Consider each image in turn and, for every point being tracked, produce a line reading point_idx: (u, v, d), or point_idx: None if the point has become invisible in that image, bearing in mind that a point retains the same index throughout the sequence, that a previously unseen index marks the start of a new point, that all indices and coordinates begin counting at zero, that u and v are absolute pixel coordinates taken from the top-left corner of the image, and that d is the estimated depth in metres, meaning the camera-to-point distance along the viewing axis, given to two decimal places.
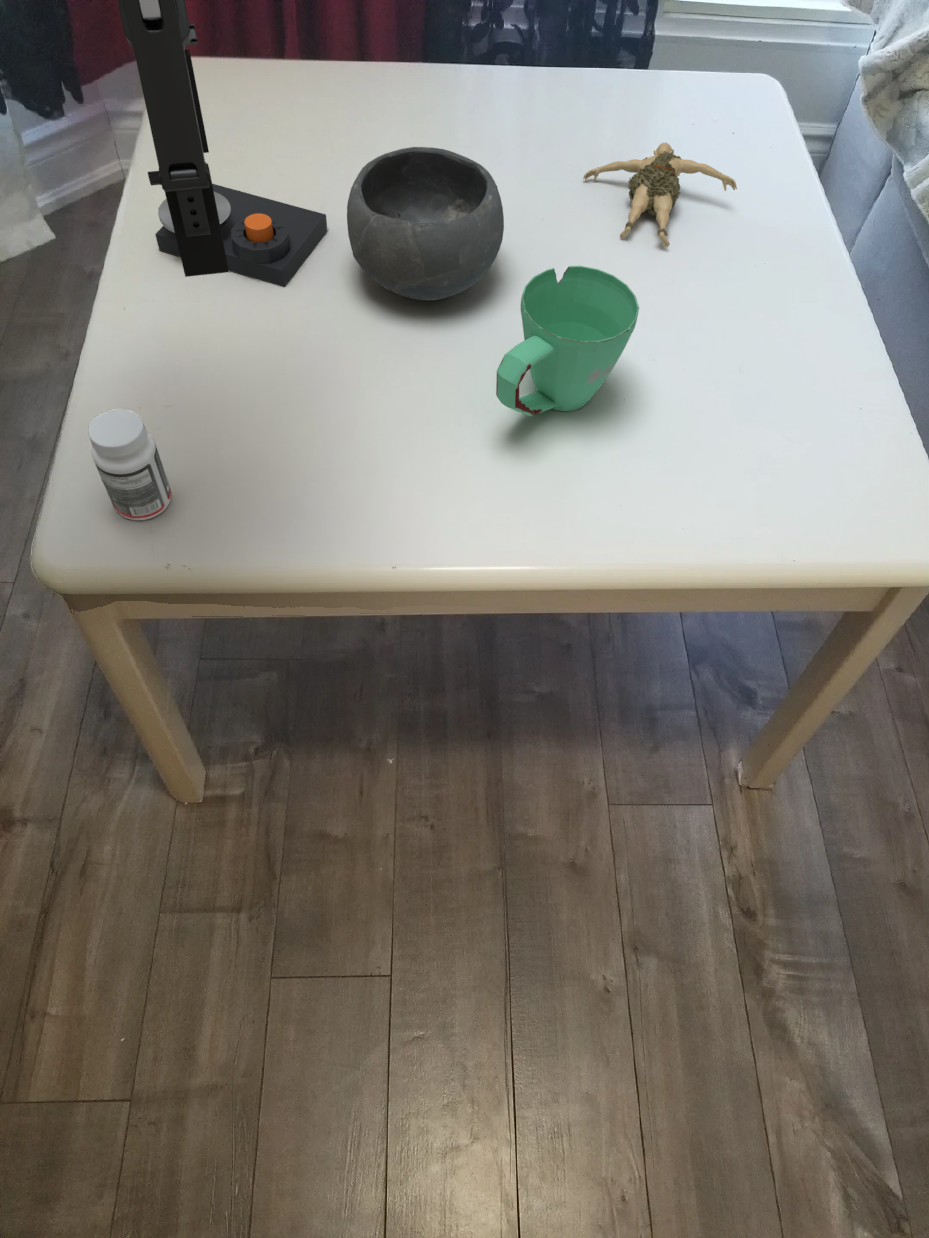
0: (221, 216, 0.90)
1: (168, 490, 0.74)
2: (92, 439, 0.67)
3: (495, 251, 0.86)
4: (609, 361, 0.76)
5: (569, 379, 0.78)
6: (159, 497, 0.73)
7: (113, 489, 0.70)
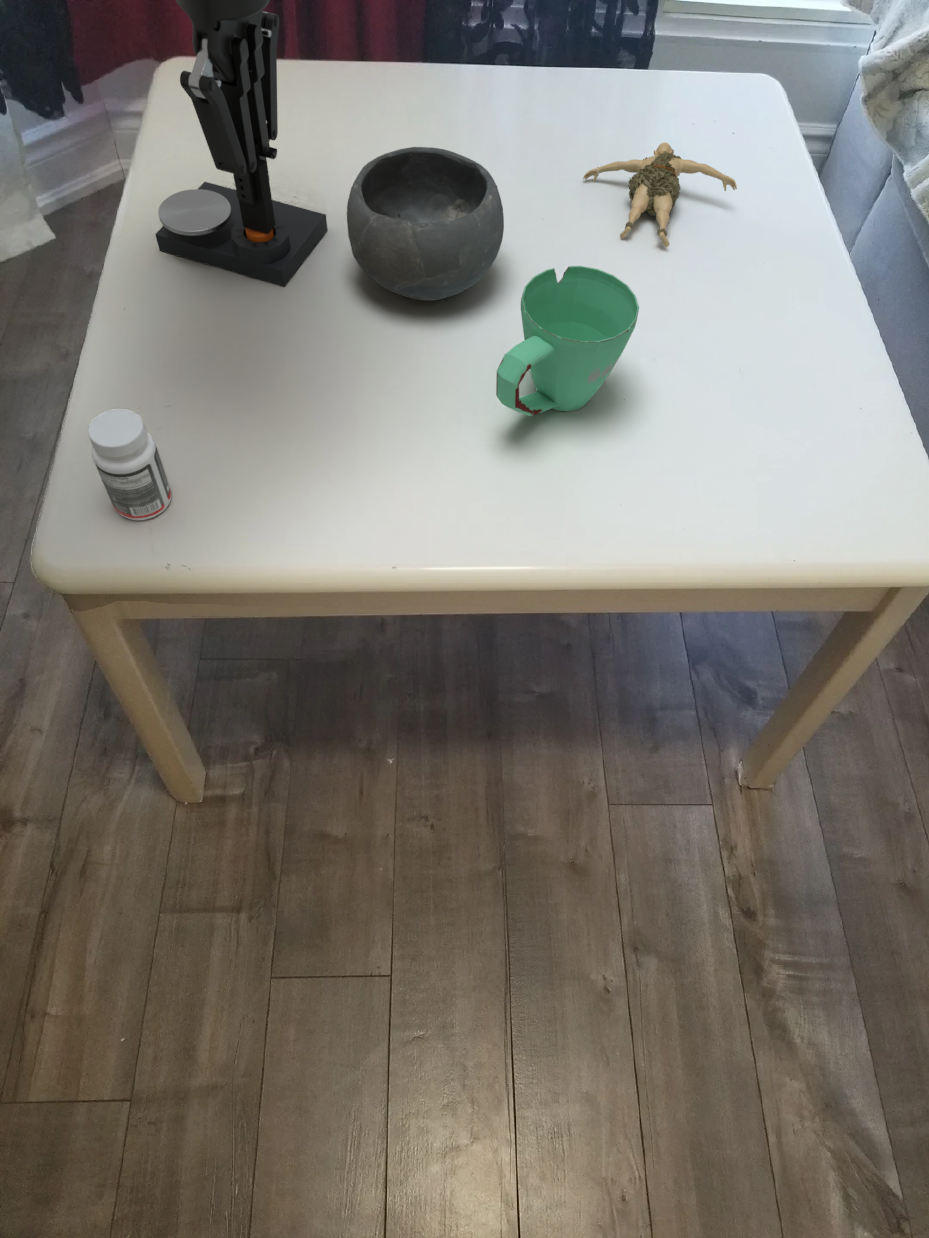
0: (221, 216, 0.90)
1: (168, 490, 0.74)
2: (92, 439, 0.67)
3: (495, 251, 0.86)
4: (609, 361, 0.76)
5: (569, 379, 0.78)
6: (159, 497, 0.73)
7: (113, 489, 0.70)
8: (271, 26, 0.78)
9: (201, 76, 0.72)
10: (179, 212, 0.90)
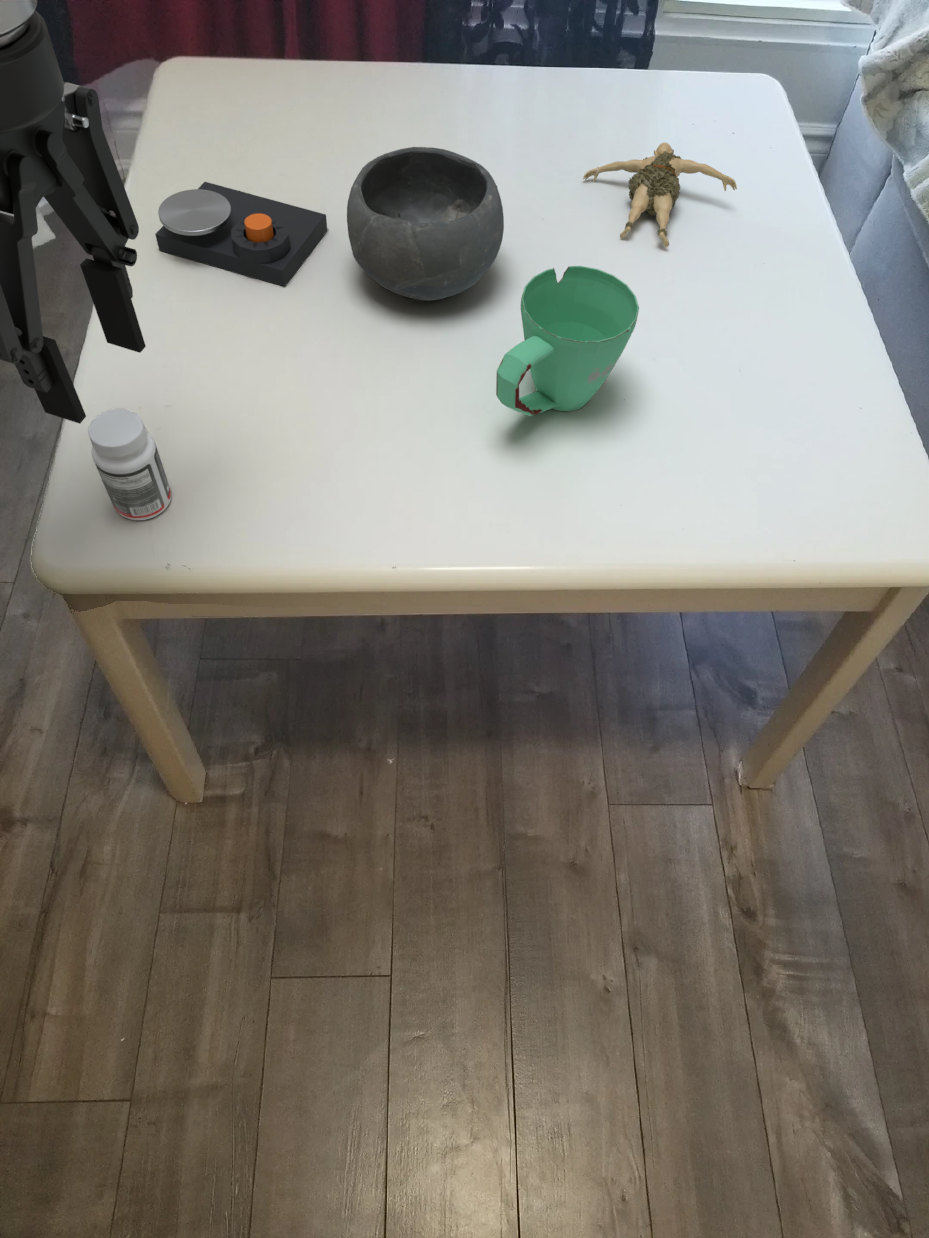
0: (221, 216, 0.90)
1: (168, 490, 0.74)
2: (92, 439, 0.67)
3: (495, 251, 0.86)
4: (609, 361, 0.76)
5: (569, 379, 0.78)
6: (159, 497, 0.73)
7: (113, 489, 0.70)
8: (86, 110, 0.53)
9: None
10: (179, 212, 0.90)
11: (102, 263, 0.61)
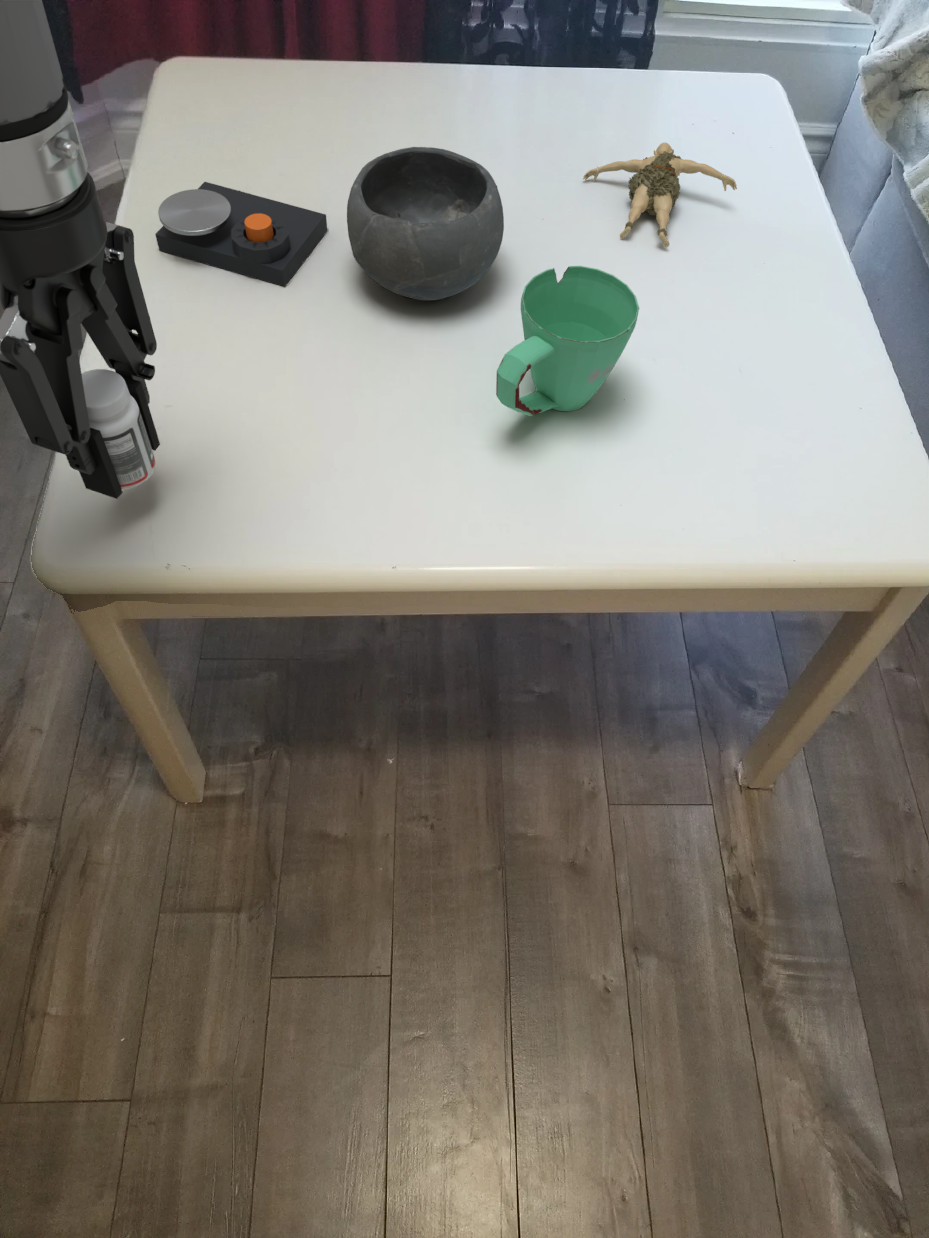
0: (221, 216, 0.90)
1: (152, 458, 0.70)
2: None
3: (495, 251, 0.86)
4: (609, 361, 0.76)
5: (569, 379, 0.78)
6: (143, 465, 0.69)
7: None
8: (122, 246, 0.60)
9: (5, 337, 0.54)
10: (179, 212, 0.90)
11: (123, 376, 0.67)
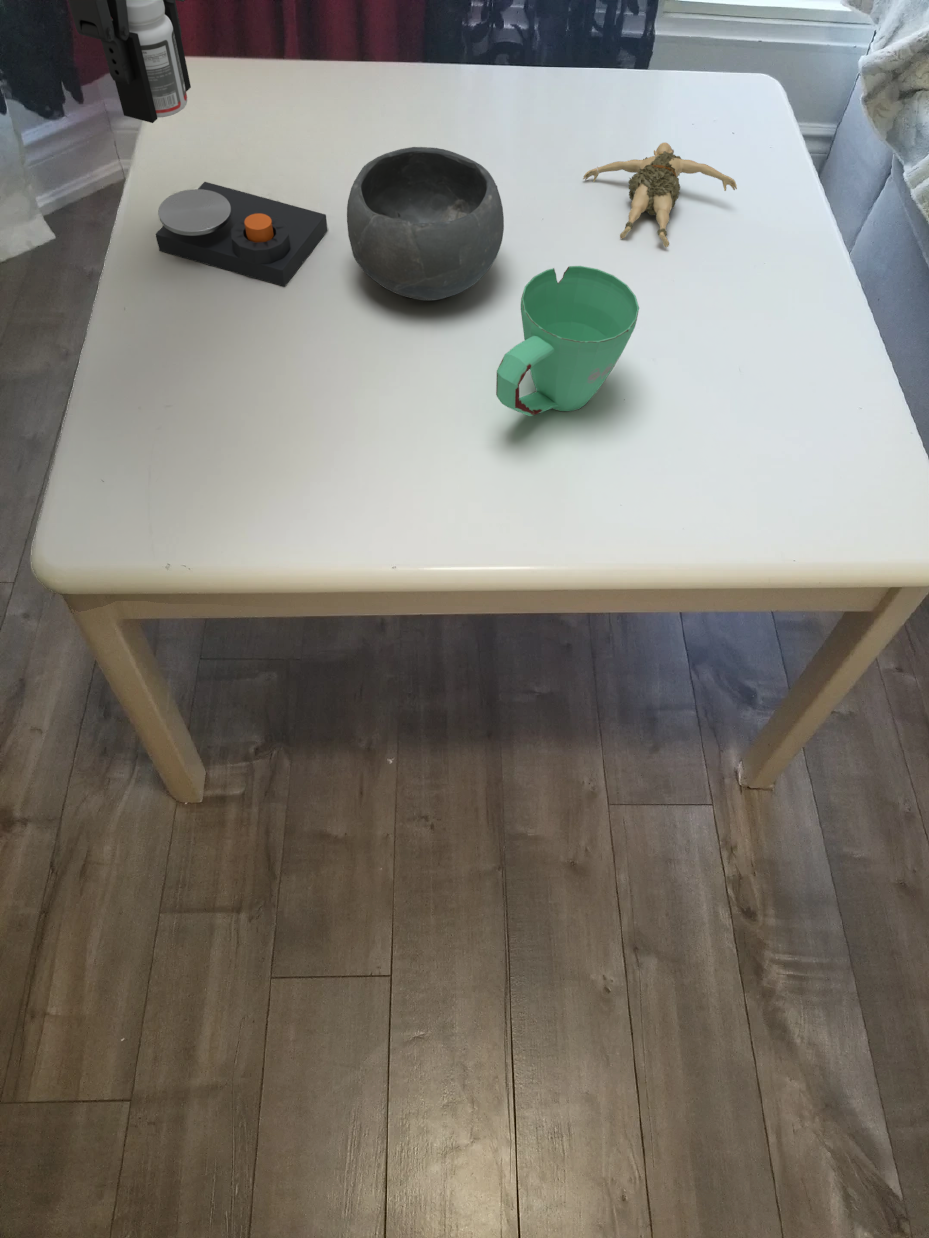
0: (221, 216, 0.90)
1: (184, 90, 0.76)
2: None
3: (495, 251, 0.86)
4: (609, 361, 0.76)
5: (569, 379, 0.78)
6: (176, 91, 0.75)
7: None
8: None
9: None
10: (179, 212, 0.90)
11: None
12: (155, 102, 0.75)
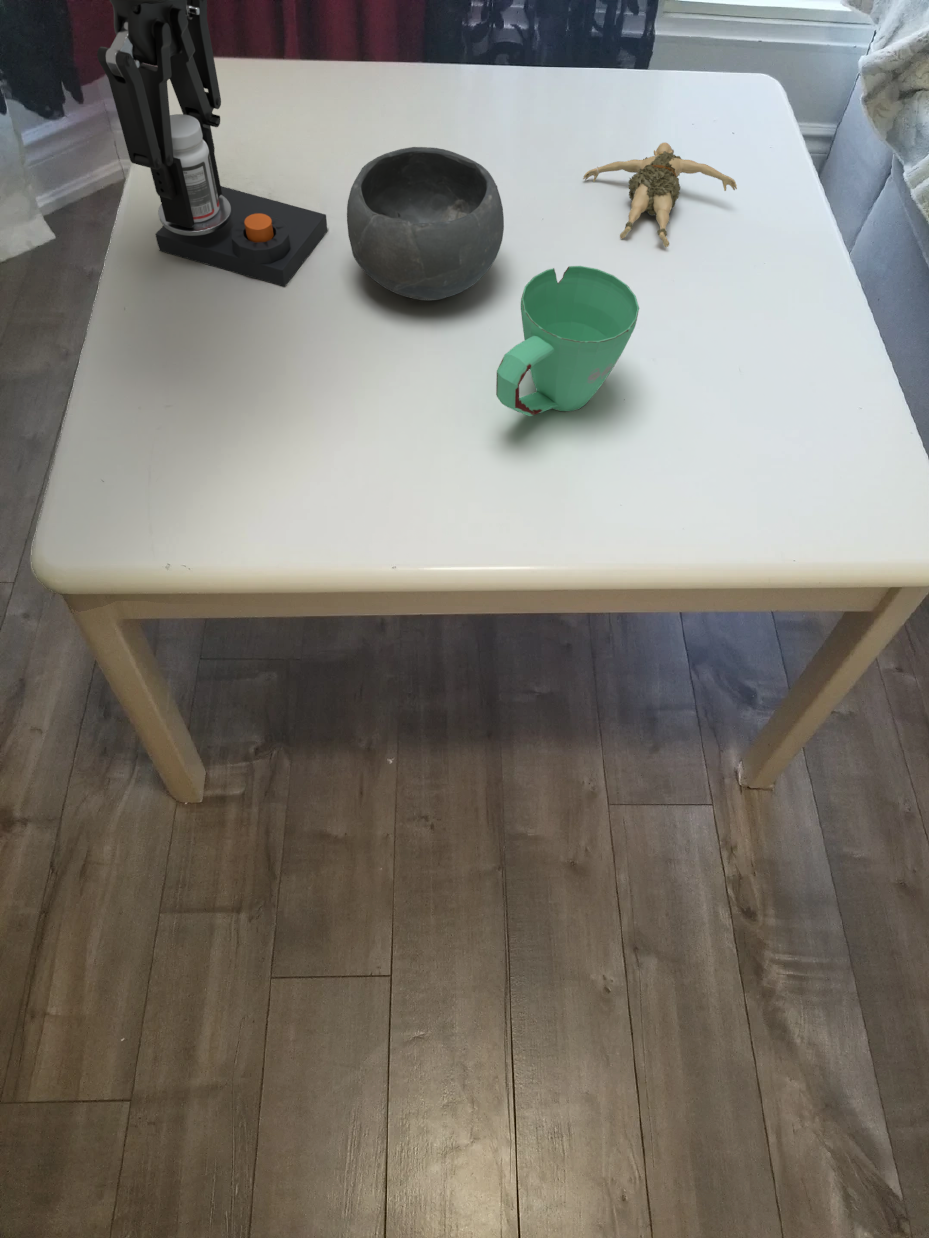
0: (221, 216, 0.90)
1: (217, 198, 0.89)
2: None
3: (495, 251, 0.86)
4: (609, 361, 0.76)
5: (569, 379, 0.78)
6: (211, 200, 0.88)
7: None
8: (199, 2, 0.79)
9: (119, 51, 0.72)
10: None
11: None
12: (193, 210, 0.87)
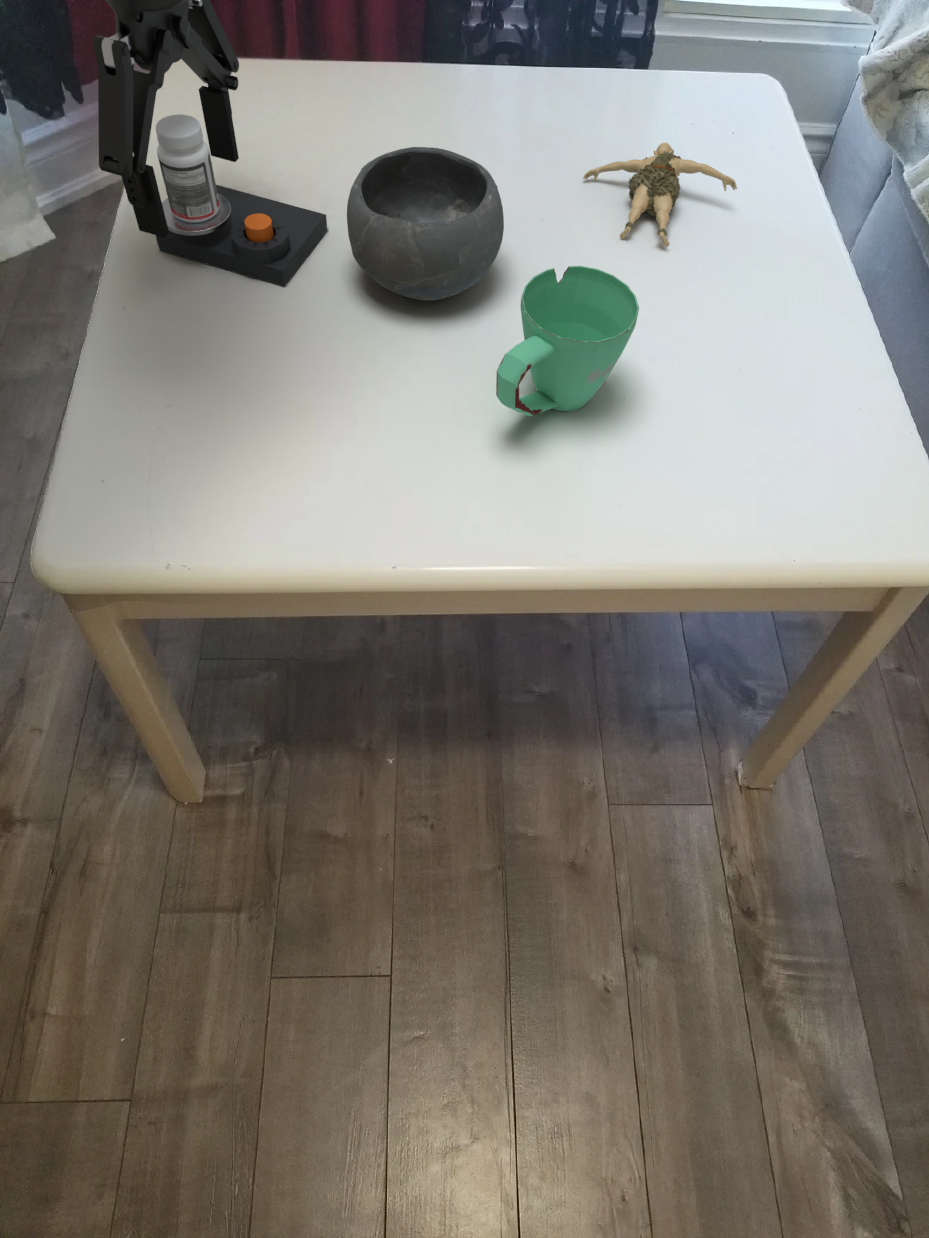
0: (221, 216, 0.90)
1: (217, 199, 0.89)
2: (159, 133, 0.82)
3: (495, 251, 0.86)
4: (609, 361, 0.76)
5: (569, 379, 0.78)
6: (211, 201, 0.88)
7: (174, 186, 0.86)
8: None
9: None
10: None
11: (214, 89, 0.87)
12: (193, 211, 0.88)
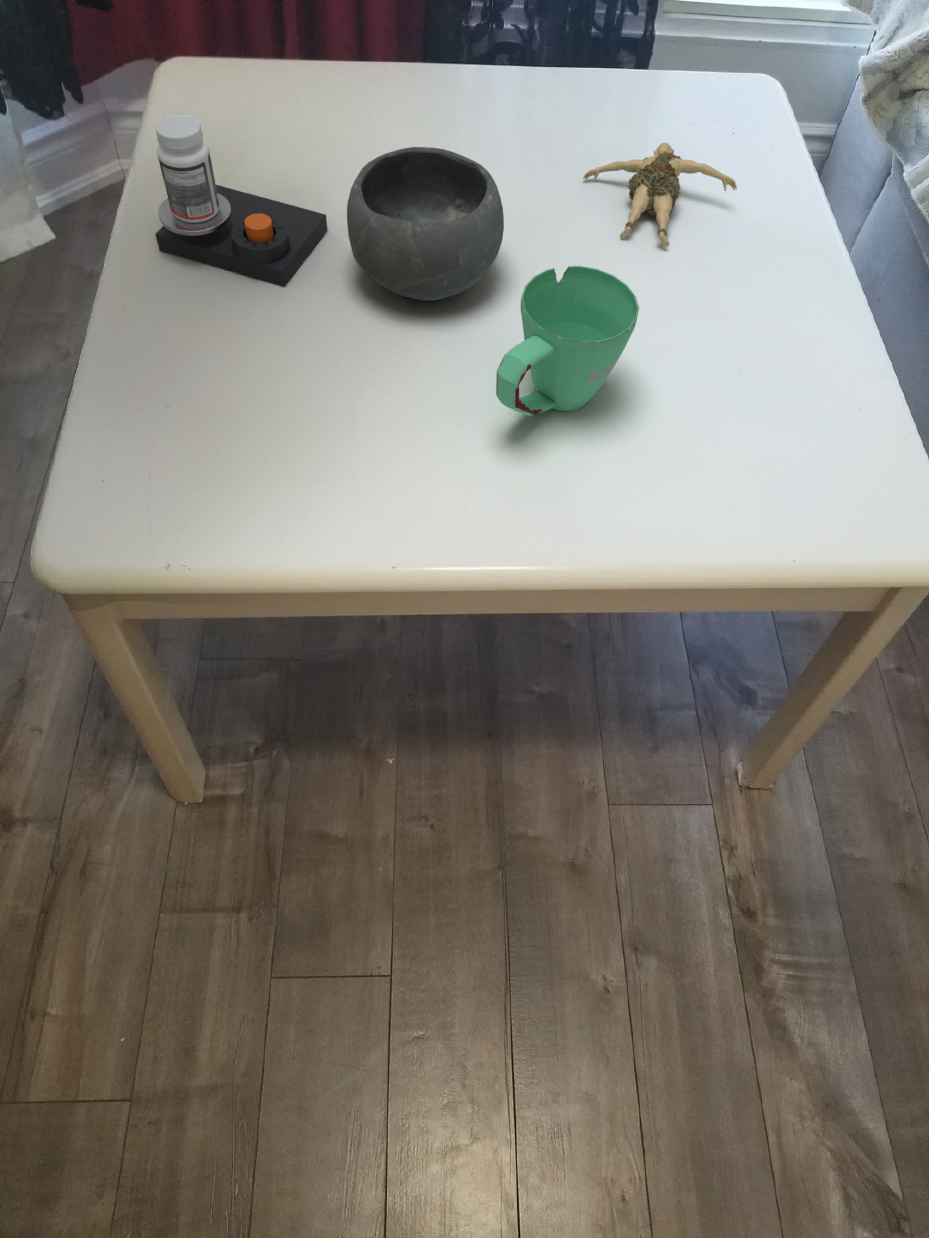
0: (221, 216, 0.90)
1: (217, 199, 0.89)
2: (159, 133, 0.82)
3: (495, 251, 0.86)
4: (609, 361, 0.76)
5: (569, 379, 0.78)
6: (211, 201, 0.88)
7: (174, 186, 0.86)
8: None
9: None
10: None
11: None
12: (193, 211, 0.88)
